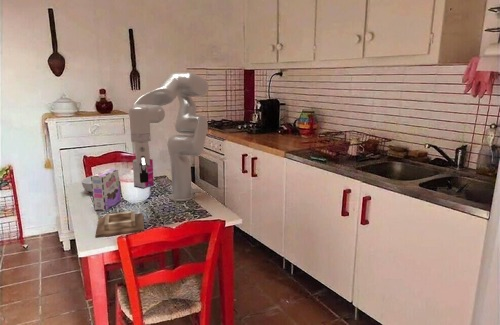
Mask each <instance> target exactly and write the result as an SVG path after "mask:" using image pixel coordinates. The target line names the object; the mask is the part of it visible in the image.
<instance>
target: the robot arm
mask: <svg viewBox="0 0 500 325" xmlns="http://www.w3.org/2000/svg"><path fill="white" fill-rule="evenodd" d="M208 92H209V83H208V81H207V80H206V79H205V78H204V77H202V76H200V75H198V74H196V73H193V72H186V71H185V72H183V71H181V72H171V73H170V74H169V75H167V77H166V78H165V79H164V81H162V82H161V84H160V85H159V86H158V87H157V88H155V89H153V90H150V91H148V92H147V93H145V94H143V95H141V96H140V97H138V98H137V100H136V101H134V102H133V104H132V106H131V107H130V108H129V110H128V115H129V116H128V117H129V130H130V141H131V143H134V151H135V159H136V160H137V164H138V166H139V167H140V183H145V182H149V181H148V172H147V165H149V166H150V159H151V157H150V146H149V142H151V127H150V126H151V125H150V124H158V123H161V122H162V121H163V120H164V118H165V117H166V112H165V109H164V107H163V106H166V105H169V104H172V103H173V102H174V100H175V99H176V98H177V100H178V103H179V104H178V105H179V107H178V112H177V115H176V121H175V125H174V128H175V131H176V132H177V133H179V134H174V135H171V136H170V137H169V138H168V139H167V144H166V145H167V150H168V153H169V159H170V172H171V186H172V188H171V190H172V192H171V194H170V195H169V199H170V200H171V201H174V202H186V201H191V200H193V199H194V198H196V194H201V193H202V189H201V188H193V187H192V168H191V166H192V165H191V161H190V158H189V156H195V157H196V156H197V157H198V156H201V155H202V154H203V152H204V149H205V142H206V137H207V135H208V128H209V124H208V119H207V118H206V116H204V115H201V114H197V113H196V112H197V105H196V103H195V101H194V99H193V98H192V97H204V96H206V95H207V94H208ZM141 162H142V165H141V164H140V163H141ZM145 162H146V165H145Z"/></svg>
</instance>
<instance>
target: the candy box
mask: <svg viewBox="0 0 500 325" xmlns="http://www.w3.org/2000/svg"><path fill="white" fill-rule="evenodd" d="M90 176H91V182H92V192H91V193H92V200H93V210H94V211H104V212H105V211H106V212H107V210H109V209H111V208H112V207H114V206H115V205H117V204H119V203H120V202H121V201H122V195H121V187H120V177H119V176H120V175H119V169H117V168H106V169H105V170H103V171H99V172H98V173H96V174H94V175H90Z"/></svg>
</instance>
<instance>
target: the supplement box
mask: <svg viewBox="0 0 500 325" xmlns="http://www.w3.org/2000/svg"><path fill="white" fill-rule="evenodd" d="M153 161H154V160H153V159H151V158H150V166H149V165H147V172H148V181H149V182H145V183H140V167H139V166H138V164H137V160H136V158H135V159H132V171H133V172H132V173H133V187H134V188H137V189H141V190H145V189H147V188H150V187H154V186H155V185H154V162H153ZM140 164H141V165H142V162H141V163H140ZM145 165H146V162H145Z"/></svg>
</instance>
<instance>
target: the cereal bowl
mask: <svg viewBox="0 0 500 325" xmlns="http://www.w3.org/2000/svg"><path fill="white" fill-rule="evenodd" d="M91 176H92V175H90V176H87V177H85V178H82V180H81V185H82V188H83V189H84V190H85V191H86V192H90V193H93V192H92V182H91Z"/></svg>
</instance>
